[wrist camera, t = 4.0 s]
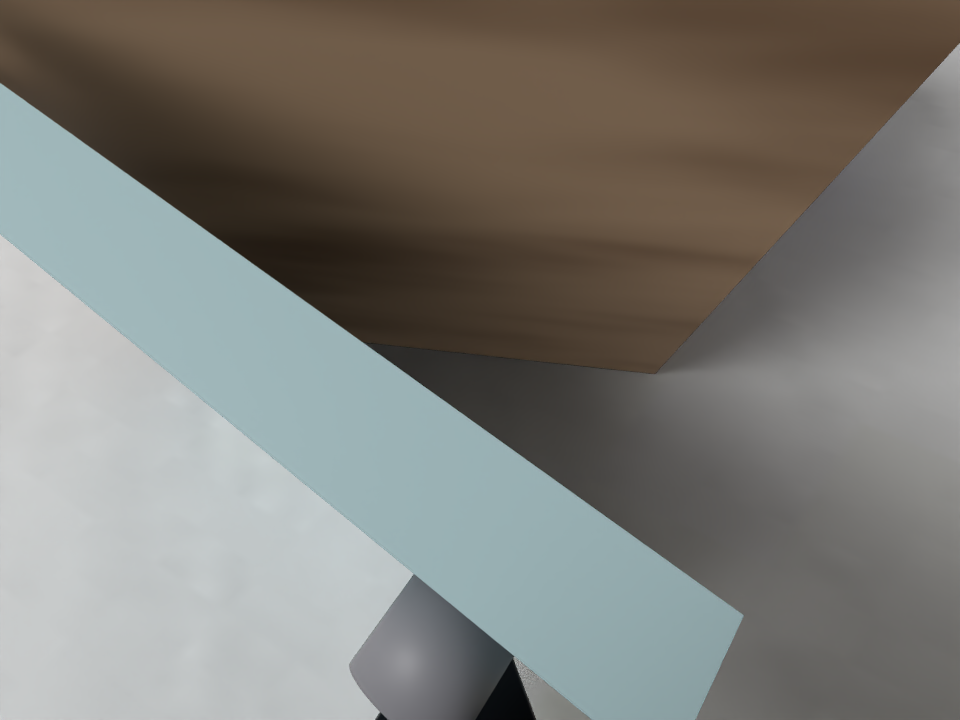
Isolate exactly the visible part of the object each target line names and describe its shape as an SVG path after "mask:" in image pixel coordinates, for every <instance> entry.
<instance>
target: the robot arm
mask: <svg viewBox="0 0 960 720" xmlns="http://www.w3.org/2000/svg"><path fill="white" fill-rule="evenodd" d="M375 720H388V719H387V718H386V717H385V716H384V715H383V714H382V713H381V712H380V713H379V714H378V716H377V718H376V719H375ZM475 720H536V718H535V715H534V712H533V710H532V707H531V704H530V702H529V699H528V697H527V694H526V691H525V689H524V686H523V683H522V681H521V678H520V675H519V673H518V670H517V668H516V665H515V662H514V660H513V659H512V660H511V662H510V664H509V665H508V667H507V669H506V670H505V672H504V674H503V675H502V677H501V678H500V680H499V682H498V683H497V685H496V687H495V688H494V690H493V692H492V693H491V695H490V696H489V698H488V700H487V701H486V703H485V705H484V706H483V708H482V710H481V711H480V713H479V714H478V716H477V718H476V719H475Z"/></svg>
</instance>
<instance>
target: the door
mask: <svg viewBox="0 0 960 720" xmlns="http://www.w3.org/2000/svg"><path fill="white" fill-rule="evenodd" d="M0 234H1V235H2V236H3V237H4V238H5V239H7V240H8V241H9V242H10V243H11V244H13V245H14V246H15V247H16V248H18V249H19V250H20V251H21V252H22V253H24V254H25V255H26V256H27V257H29V258H30V259H31V260H32V261H33V262H35V263H36V264H37V265H38V266H40V267H41V268H42V269H43V270H44V271H46V272H47V273H48V274H49V275H50V276H52V277H53V278H54V279H55V280H57V281H58V282H59V283H60V284H61V285H63V286H64V287H65V288H66V289H68V290H69V291H70V292H71V293H72V294H74V295H75V296H76V297H77V298H79V299H80V300H81V301H82V302H83V303H85V304H86V305H87V306H88V307H89V308H91V309H92V310H93V311H94V312H96V313H97V314H98V315H99V316H100V317H102V318H103V319H104V320H105V321H107V322H108V323H109V324H110V325H111V326H113V327H114V328H115V329H116V330H118V331H119V332H120V333H121V334H122V335H124V336H125V337H126V338H127V339H128V340H130V341H131V342H132V343H133V344H135V345H136V346H137V347H138V348H139V349H141V350H142V351H143V352H144V353H146V354H147V355H148V356H149V357H150V358H152V359H153V360H154V361H155V362H156V363H158V364H159V365H160V366H161V367H163V368H164V369H165V370H166V371H167V372H169V373H170V374H171V375H172V376H174V377H175V378H176V379H177V380H178V381H180V382H181V383H182V384H183V385H185V386H186V387H187V388H188V389H189V390H191V391H192V392H193V393H194V394H195V395H197V396H198V397H199V398H200V399H202V400H203V401H204V402H205V403H206V404H208V405H209V406H210V407H211V408H213V409H214V410H215V411H216V412H217V413H219V414H220V415H221V416H222V417H224V418H225V419H226V420H227V421H228V422H230V423H231V424H232V425H233V426H234V427H236V428H237V429H238V430H239V431H241V432H242V433H243V434H244V435H245V436H247V437H248V438H249V439H250V440H252V441H253V442H254V443H255V444H256V445H258V446H259V447H260V448H261V449H263V450H264V451H265V452H266V453H267V454H269V455H270V456H271V457H272V458H273V459H275V460H276V461H277V462H278V463H280V464H281V465H282V466H283V467H284V468H286V469H287V470H288V471H289V472H291V473H292V474H293V475H294V476H295V477H297V478H298V479H299V480H300V481H301V482H303V483H304V484H305V485H306V486H308V487H309V488H310V489H311V490H312V491H314V492H315V493H316V494H317V495H319V496H320V497H321V498H322V499H323V500H325V501H326V502H327V503H328V504H330V505H331V506H332V507H333V508H334V509H336V510H337V511H338V512H339V513H340V514H342V515H343V516H344V517H345V518H347V519H348V520H349V521H350V522H351V523H353V524H354V525H355V526H356V527H358V528H359V529H360V530H361V531H362V532H364V533H365V534H366V535H367V536H369V537H370V538H371V539H372V540H373V541H375V542H376V543H377V544H378V545H379V546H381V547H382V548H383V549H384V550H386V551H387V552H388V553H389V554H390V555H392V556H393V557H394V558H395V559H397V560H398V561H399V562H400V563H401V564H403V565H404V566H405V567H406V568H408V569H409V570H410V571H411V572H412V573H414V575H413V576H412V578H411V579H410V580H409V582H408V583H407V584H406V586H405V587H404V589H403V590H402V591H401V593H400V594H399V596H398V597H397V598H396V600H395V601H394V602H393V604H392V605H391V607H390V608H389V609H388V611H387V612H386V614H385V615H384V616H383V618H382V619H381V620H380V622H379V623H378V625H377V626H376V627H375V629H374V630H373V632H372V633H371V634H370V636H369V637H368V638H367V640H366V641H365V643H364V644H363V645H362V647H361V648H360V650H359V651H358V652H357V654H356V655H355V656H354V658H353V659H352V661H351V662H350V664H349V667H350V671H351V674H352V676H353V678H354V680H355V681H356V683H357V685H358V686H359V687H360V689H361V690H362V692H363V693H364V694H365V695H366V697H367V698H368V699H369V700H370V701H371V703H372V704H373V705H374V706H375V707H376V708H377V709H378V710H379V711H380V712H381V713H382V714H383V715H384V716H385V717H386V718H387V719H388V720H475V719H476V718H477V716H478V714H479V713H480V711H481V710H482V708H483V706H484V705H485V703H486V701H487V700H488V698H489V696H490V695H491V693H492V692H493V690H494V688H495V687H496V685H497V683H498V682H499V680H500V678H501V677H502V675H503V674H504V672H505V670H506V669H507V667H508V665H509V664H510V662H511V660H512V659H513V657H514V656H515V657H516V658H517V659H518V660H520V661H521V662H522V663H523V664H524V665H526V666H527V667H528V668H529V669H531V670H532V671H533V672H534V673H535V674H537V675H538V676H539V677H540V678H542V679H543V680H544V681H545V682H546V683H548V684H549V685H550V686H551V687H553V688H554V689H555V690H556V691H557V692H559V693H560V694H561V695H562V696H563V697H565V698H566V699H567V700H568V701H570V702H571V703H572V704H573V705H574V706H576V707H577V708H578V709H579V710H581V711H582V712H583V713H584V714H585V715H587V716H588V717H589V718H590V719H591V720H696V717H697V715H698V713H699V711H700V709H701V707H702V704H703V702H704V700H705V698H706V696H707V694H708V692H709V689H710V687H711V685H712V683H713V681H714V679H715V676H716V674H717V672H718V670H719V668H720V666H721V664H722V661H723V659H724V657H725V655H726V653H727V651H728V648H729V646H730V644H731V642H732V640H733V638H734V636H735V633H736V631H737V629H738V627H739V625H740V623H741V621H742V618H743V616H744V615H743V614H741V613H740V612H738V611H737V610H736V609H734V608H733V607H731V606H730V605H729V604H727V603H726V602H724V601H723V600H722V599H720V598H719V597H717V596H716V595H715V594H713V593H712V592H710V591H709V590H708V589H706V588H705V587H703V586H702V585H701V584H699V583H698V582H697V581H695V580H694V579H692V578H691V577H690V576H688V575H687V574H685V573H684V572H683V571H681V570H680V569H678V568H677V567H676V566H674V565H673V564H671V563H670V562H669V561H667V560H666V559H664V558H663V557H662V556H660V555H659V554H657V553H656V552H655V551H653V550H652V549H650V548H649V547H648V546H646V545H645V544H643V543H642V542H641V541H639V540H638V539H636V538H635V537H634V536H632V535H631V534H629V533H628V532H627V531H625V530H624V529H622V528H621V527H620V526H618V525H617V524H615V523H614V522H613V521H611V520H610V519H609V518H607V517H606V516H604V515H603V514H602V513H600V512H599V511H597V510H596V509H595V508H593V507H592V506H590V505H589V504H588V503H586V502H585V501H583V500H582V499H581V498H579V497H578V496H576V495H575V494H574V493H572V492H571V491H569V490H568V489H567V488H565V487H564V486H562V485H561V484H560V483H558V482H557V481H555V480H554V479H553V478H551V477H550V476H548V475H547V474H546V473H544V472H543V471H541V470H540V469H539V468H537V467H536V466H534V465H533V464H532V463H530V462H529V461H527V460H526V459H525V458H523V457H522V456H521V455H519V454H518V453H516V452H515V451H514V450H512V449H511V448H509V447H508V446H507V445H505V444H504V443H502V442H501V441H500V440H498V439H497V438H495V437H494V436H493V435H491V434H490V433H488V432H487V431H486V430H484V429H483V428H481V427H480V426H479V425H477V424H476V423H474V422H473V421H472V420H470V419H469V418H467V417H466V416H465V415H463V414H462V413H460V412H459V411H458V410H456V409H455V408H453V407H452V406H451V405H449V404H448V403H446V402H445V401H444V400H442V399H441V398H439V397H438V396H437V395H435V394H434V393H433V392H431V391H430V390H428V389H427V388H426V387H424V386H423V385H421V384H420V383H419V382H417V381H416V380H414V379H413V378H412V377H410V376H409V375H407V374H406V373H405V372H403V371H402V370H400V369H399V368H398V367H396V366H395V365H393V364H392V363H391V362H389V361H388V360H386V359H385V358H384V357H382V356H381V355H379V354H378V353H377V352H375V351H374V350H372V349H371V348H370V347H368V346H367V345H365V344H364V343H363V342H361V341H360V340H358V339H357V338H356V337H354V336H353V335H351V334H350V333H349V332H347V331H346V330H344V329H343V328H342V327H340V326H339V325H338V324H336V323H335V322H333V321H332V320H331V319H329V318H328V317H326V316H325V315H324V314H322V313H321V312H319V311H318V310H317V309H315V308H314V307H312V306H311V305H310V304H308V303H307V302H305V301H304V300H303V299H301V298H300V297H298V296H297V295H296V294H294V293H293V292H291V291H290V290H289V289H287V288H286V287H284V286H283V285H282V284H280V283H279V282H277V281H276V280H275V279H273V278H272V277H270V276H269V275H268V274H266V273H265V272H263V271H262V270H261V269H259V268H258V267H256V266H255V265H254V264H252V263H251V262H250V261H248V260H247V259H245V258H244V257H243V256H241V255H240V254H238V253H237V252H236V251H234V250H233V249H231V248H230V247H229V246H227V245H226V244H224V243H223V242H222V241H220V240H219V239H217V238H216V237H215V236H213V235H212V234H210V233H209V232H208V231H206V230H205V229H203V228H202V227H201V226H199V225H198V224H196V223H195V222H194V221H192V220H191V219H189V218H188V217H187V216H185V215H184V214H182V213H181V212H180V211H178V210H177V209H175V208H174V207H173V206H171V205H170V204H168V203H167V202H166V201H164V200H163V199H162V198H160V197H159V196H157V195H156V194H155V193H153V192H152V191H150V190H149V189H148V188H146V187H145V186H143V185H142V184H141V183H139V182H138V181H136V180H135V179H134V178H132V177H131V176H129V175H128V174H127V173H125V172H124V171H122V170H121V169H120V168H118V167H117V166H115V165H114V164H113V163H111V162H110V161H108V160H107V159H106V158H104V157H103V156H101V155H100V154H99V153H97V152H96V151H94V150H93V149H92V148H90V147H89V146H87V145H86V144H85V143H83V142H82V141H80V140H79V139H78V138H76V137H75V136H74V135H72V134H71V133H69V132H68V131H67V130H65V129H64V128H62V127H61V126H60V125H58V124H57V123H55V122H54V121H53V120H51V119H50V118H48V117H47V116H46V115H44V114H43V113H41V112H40V111H39V110H37V109H36V108H34V107H33V106H32V105H30V104H29V103H27V102H26V101H25V100H23V99H22V98H20V97H19V96H18V95H16V94H15V93H13V92H12V91H11V90H9V89H8V88H6V87H5V86H4V85H2V84H1V83H0Z"/></svg>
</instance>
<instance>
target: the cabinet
mask: <svg viewBox="0 0 960 720" xmlns="http://www.w3.org/2000/svg"><path fill="white" fill-rule="evenodd" d="M959 43H960V0H0V83H1V84H2V85H4V86H5V87H6V88H8V89H9V90H11V91H12V92H13V93H15V94H16V95H18V96H19V97H20V98H22V99H23V100H25V101H26V102H27V103H29V104H30V105H32V106H33V107H34V108H36V109H37V110H39V111H40V112H41V113H43V114H44V115H46V116H47V117H48V118H50V119H51V120H53V121H54V122H55V123H57V124H58V125H60V126H61V127H62V128H64V129H65V130H67V131H68V132H69V133H71V134H72V135H74V136H75V137H76V138H78V139H79V140H80V141H82V142H83V143H85V144H86V145H87V146H89V147H90V148H92V149H93V150H94V151H96V152H97V153H99V154H100V155H101V156H103V157H104V158H106V159H107V160H108V161H110V162H111V163H113V164H114V165H115V166H117V167H118V168H120V169H121V170H122V171H124V172H125V173H127V174H128V175H129V176H131V177H132V178H134V179H135V180H136V181H138V182H139V183H141V184H142V185H143V186H145V187H146V188H148V189H149V190H150V191H152V192H153V193H155V194H156V195H157V196H159V197H160V198H162V199H163V200H164V201H166V202H167V203H168V204H170V205H171V206H173V207H174V208H175V209H177V210H178V211H180V212H181V213H182V214H184V215H185V216H187V217H188V218H189V219H191V220H192V221H194V222H195V223H196V224H198V225H199V226H201V227H202V228H203V229H205V230H206V231H208V232H209V233H210V234H212V235H213V236H215V237H216V238H217V239H219V240H220V241H222V242H223V243H224V244H226V245H227V246H229V247H230V248H231V249H233V250H234V251H236V252H237V253H238V254H240V255H241V256H243V257H244V258H245V259H247V260H248V261H250V262H251V263H252V264H254V265H255V266H256V267H258V268H259V269H261V270H262V271H263V272H265V273H266V274H268V275H269V276H270V277H272V278H273V279H275V280H276V281H277V282H279V283H280V284H282V285H283V286H284V287H286V288H287V289H289V290H290V291H291V292H293V293H294V294H296V295H297V296H298V297H300V298H301V299H303V300H304V301H305V302H307V303H308V304H310V305H311V306H312V307H314V308H315V309H317V310H318V311H319V312H321V313H322V314H324V315H325V316H326V317H328V318H329V319H331V320H332V321H333V322H335V323H336V324H338V325H339V326H340V327H342V328H343V329H344V330H346V331H347V332H349V333H350V334H351V335H353V336H354V337H356V338H357V339H358V340H360V341H361V342H366V343H375V344H384V345H393V346H403V347H412V348H421V349H430V350H439V351H449V352H458V353H467V354H476V355H485V356H495V357H504V358H513V359H522V360H531V361H541V362H550V363H559V364H568V365H577V366H587V367H596V368H605V369H614V370H624V371H633V372H642V373H651V374H655V373H656V372H657V371H658V370H659V369H660V368H661V367H662V366H663V365H664V363H665V362H666V361H667V360H668V359H669V358H670V357H671V356H672V355H673V354H674V353H675V351H676V350H677V349H678V348H679V347H680V346H681V345H682V344H683V343H684V342H685V341H686V340H687V338H688V337H689V336H690V335H691V334H692V333H693V332H694V331H695V330H696V329H697V328H698V327H699V325H700V324H701V323H702V322H703V321H704V320H705V319H706V318H707V317H708V316H709V315H710V313H711V312H712V311H713V310H714V309H715V308H716V307H717V306H718V305H719V304H720V303H721V302H722V300H723V299H724V298H725V297H726V296H727V295H728V294H729V293H730V292H731V291H732V290H733V289H734V287H735V286H736V285H737V284H738V283H739V282H740V281H741V280H742V279H743V278H744V277H745V275H746V274H747V273H748V272H749V271H750V270H751V269H752V268H753V267H754V266H755V265H756V264H757V262H758V261H759V260H760V259H761V258H762V257H763V256H764V255H765V254H766V253H767V252H768V251H769V249H770V248H771V247H772V246H773V245H774V244H775V243H776V242H777V241H778V240H779V239H780V237H781V236H782V235H783V234H784V233H785V232H786V231H787V230H788V229H789V228H790V227H791V226H792V224H793V223H794V222H795V221H796V220H797V219H798V218H799V217H800V216H801V215H802V214H803V213H804V211H805V210H806V209H807V208H808V207H809V206H810V205H811V204H812V203H813V202H814V201H815V199H816V198H817V197H818V196H819V195H820V194H821V193H822V192H823V191H824V190H825V189H826V188H827V186H828V185H829V184H830V183H831V182H832V181H833V180H834V179H835V178H836V177H837V176H838V174H839V173H840V172H841V171H842V170H843V169H844V168H845V167H846V166H847V165H848V164H849V163H850V161H851V160H852V159H853V158H854V157H855V156H856V155H857V154H858V153H859V152H860V151H861V150H862V148H863V147H864V146H865V145H866V144H867V143H868V142H869V141H870V140H871V139H872V138H873V136H874V135H875V134H876V133H877V132H878V131H879V130H880V129H881V128H882V127H883V126H884V125H885V123H886V122H887V121H888V120H889V119H890V118H891V117H892V116H893V115H894V114H895V113H896V112H897V110H898V109H899V108H900V107H901V106H902V105H903V104H904V103H905V102H906V101H907V100H908V98H909V97H910V96H911V95H912V94H913V93H914V92H915V91H916V90H917V89H918V88H919V87H920V85H921V84H922V83H923V82H924V81H925V80H926V79H927V78H928V77H929V76H930V75H931V74H932V72H933V71H934V70H935V69H936V68H937V67H938V66H939V65H940V64H941V63H942V62H943V60H944V59H945V58H946V57H947V56H948V55H949V54H950V53H951V52H952V51H953V50H954V49H955V47H956V46H957V45H958V44H959Z"/></svg>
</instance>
